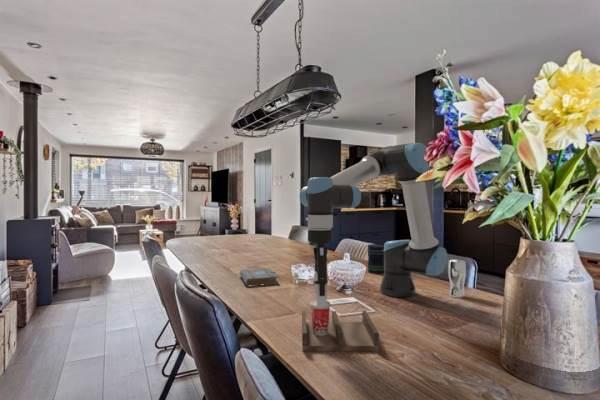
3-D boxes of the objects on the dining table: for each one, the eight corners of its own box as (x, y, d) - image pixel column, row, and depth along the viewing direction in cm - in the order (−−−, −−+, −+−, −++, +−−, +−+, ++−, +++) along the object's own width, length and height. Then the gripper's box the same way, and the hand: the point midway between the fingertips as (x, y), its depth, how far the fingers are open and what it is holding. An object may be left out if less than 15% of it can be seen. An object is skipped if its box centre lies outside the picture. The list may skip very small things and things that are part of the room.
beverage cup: (334, 334, 102) (334, 287, 102) (317, 338, 99) (317, 290, 99) (323, 327, 107) (323, 282, 107) (306, 331, 104) (306, 285, 104)
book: (239, 277, 182) (239, 268, 182) (270, 275, 187) (270, 266, 186) (245, 287, 162) (245, 277, 161) (279, 285, 166) (279, 274, 166)
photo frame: (353, 296, 143) (375, 310, 126) (353, 299, 143) (375, 313, 126) (320, 300, 138) (339, 314, 121) (320, 302, 138) (339, 317, 121)
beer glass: (461, 299, 141) (461, 262, 141) (445, 295, 147) (445, 260, 146) (468, 295, 146) (469, 260, 146) (452, 292, 151) (453, 258, 151)
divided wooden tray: (366, 326, 112) (366, 311, 112) (378, 351, 94) (378, 333, 94) (302, 326, 112) (301, 311, 112) (302, 351, 94) (302, 333, 94)
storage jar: (375, 269, 199) (375, 243, 199) (389, 272, 192) (389, 245, 191) (364, 271, 193) (363, 245, 193) (378, 274, 185) (378, 247, 185)
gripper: (306, 225, 115) (307, 288, 115) (308, 233, 90) (309, 313, 91) (329, 225, 115) (329, 288, 115) (337, 233, 90) (337, 313, 91)
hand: (320, 299), depth 103 cm, fingers open, 13 cm apart
